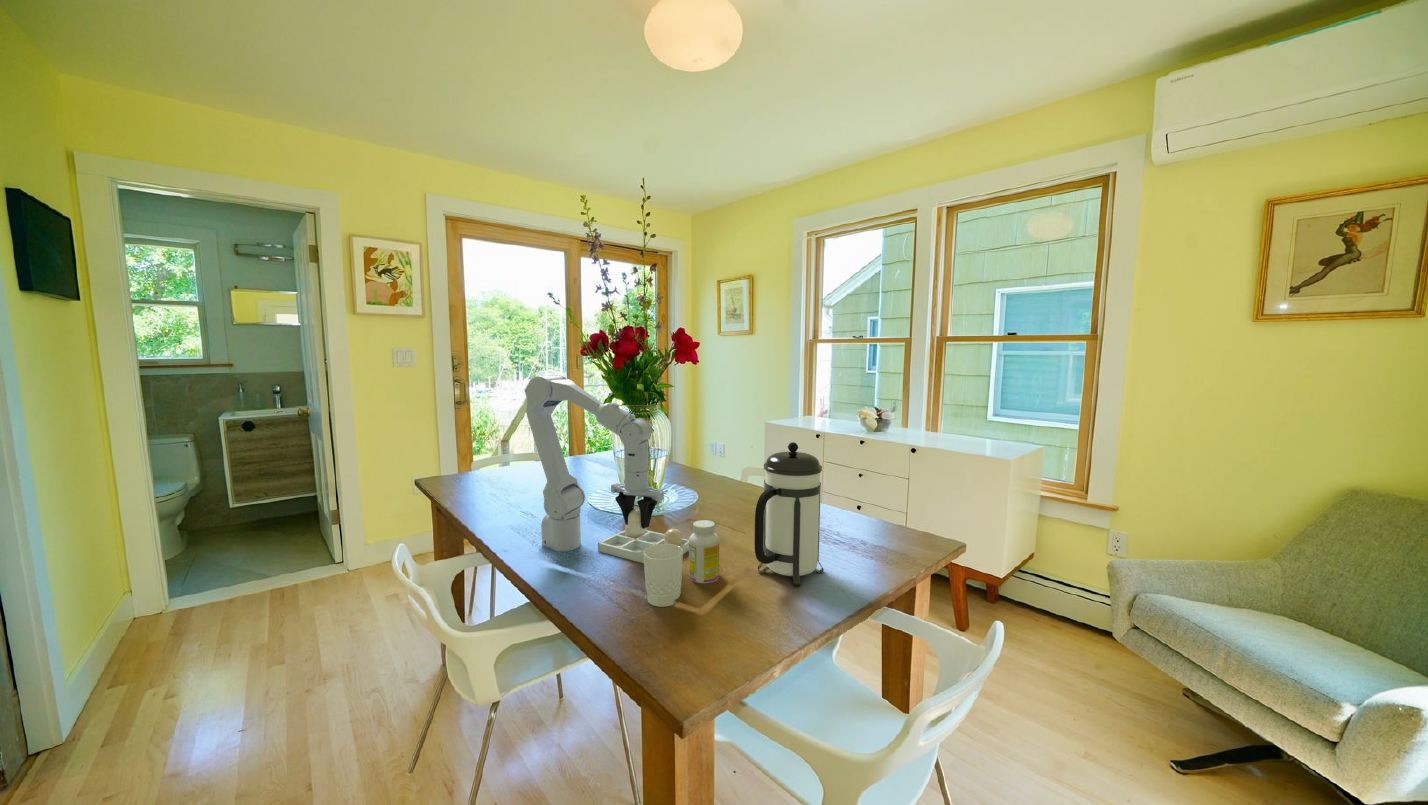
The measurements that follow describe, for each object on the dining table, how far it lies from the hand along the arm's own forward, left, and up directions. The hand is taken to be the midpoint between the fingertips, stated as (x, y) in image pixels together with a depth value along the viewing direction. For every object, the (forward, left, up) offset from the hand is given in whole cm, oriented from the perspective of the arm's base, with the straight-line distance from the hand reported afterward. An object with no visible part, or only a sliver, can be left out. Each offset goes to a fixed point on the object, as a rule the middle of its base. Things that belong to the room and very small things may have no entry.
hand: (637, 525), depth 117 cm
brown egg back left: (-6, +6, -7) cm, 11 cm away
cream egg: (0, 0, -1) cm, 1 cm away
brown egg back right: (+6, +6, -7) cm, 11 cm away
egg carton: (0, +3, -8) cm, 9 cm away
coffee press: (+35, +10, -8) cm, 37 cm away
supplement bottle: (+20, -2, -8) cm, 22 cm away
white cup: (+17, -13, -8) cm, 23 cm away
